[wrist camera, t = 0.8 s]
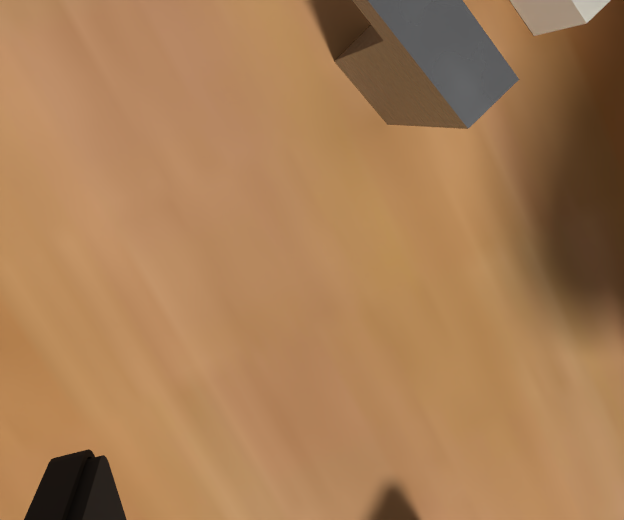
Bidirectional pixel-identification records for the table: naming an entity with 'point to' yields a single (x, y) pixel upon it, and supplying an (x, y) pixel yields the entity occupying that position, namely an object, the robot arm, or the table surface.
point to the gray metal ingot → (425, 63)
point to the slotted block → (556, 13)
